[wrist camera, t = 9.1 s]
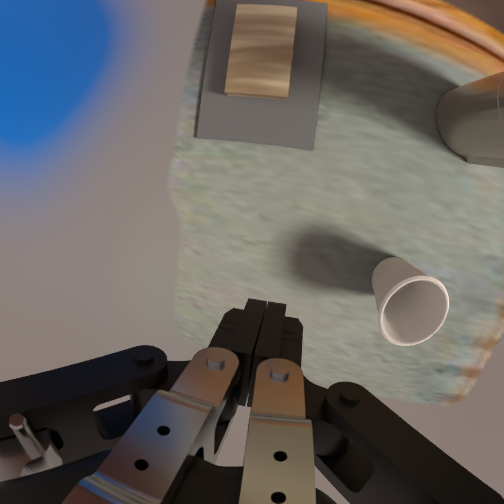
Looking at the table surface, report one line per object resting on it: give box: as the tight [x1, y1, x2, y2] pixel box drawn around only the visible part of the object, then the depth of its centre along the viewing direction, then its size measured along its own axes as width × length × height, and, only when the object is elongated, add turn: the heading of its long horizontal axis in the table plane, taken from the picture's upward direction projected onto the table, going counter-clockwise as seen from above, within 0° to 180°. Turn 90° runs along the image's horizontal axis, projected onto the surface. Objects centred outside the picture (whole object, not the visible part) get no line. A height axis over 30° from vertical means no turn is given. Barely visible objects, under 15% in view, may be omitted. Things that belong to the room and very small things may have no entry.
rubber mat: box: [197, 0, 327, 150], centre depth 32 cm, size 20×14×1 cm
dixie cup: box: [372, 257, 449, 346], centre depth 33 cm, size 8×8×10 cm
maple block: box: [224, 4, 297, 101], centre depth 30 cm, size 2×7×12 cm
